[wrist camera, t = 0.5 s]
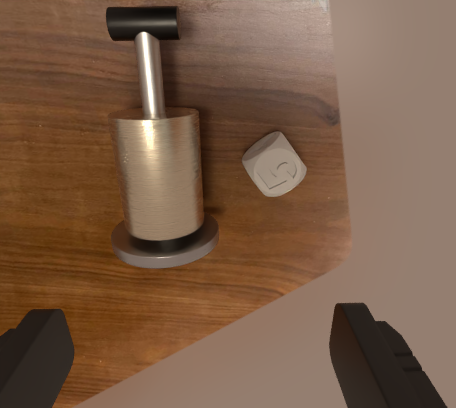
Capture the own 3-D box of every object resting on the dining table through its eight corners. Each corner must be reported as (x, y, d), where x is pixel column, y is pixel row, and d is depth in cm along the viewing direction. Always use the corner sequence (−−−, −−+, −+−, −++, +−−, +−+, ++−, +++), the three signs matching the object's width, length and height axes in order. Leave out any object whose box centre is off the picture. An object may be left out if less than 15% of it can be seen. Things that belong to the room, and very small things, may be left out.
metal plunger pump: (129, 216, 39) (99, 16, 31) (219, 215, 39) (214, 14, 31) (96, 269, 29) (37, -6, 21) (217, 267, 29) (209, -8, 21)
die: (240, 154, 36) (242, 167, 32) (277, 126, 35) (284, 136, 31) (265, 187, 38) (270, 204, 33) (301, 162, 37) (312, 176, 32)
